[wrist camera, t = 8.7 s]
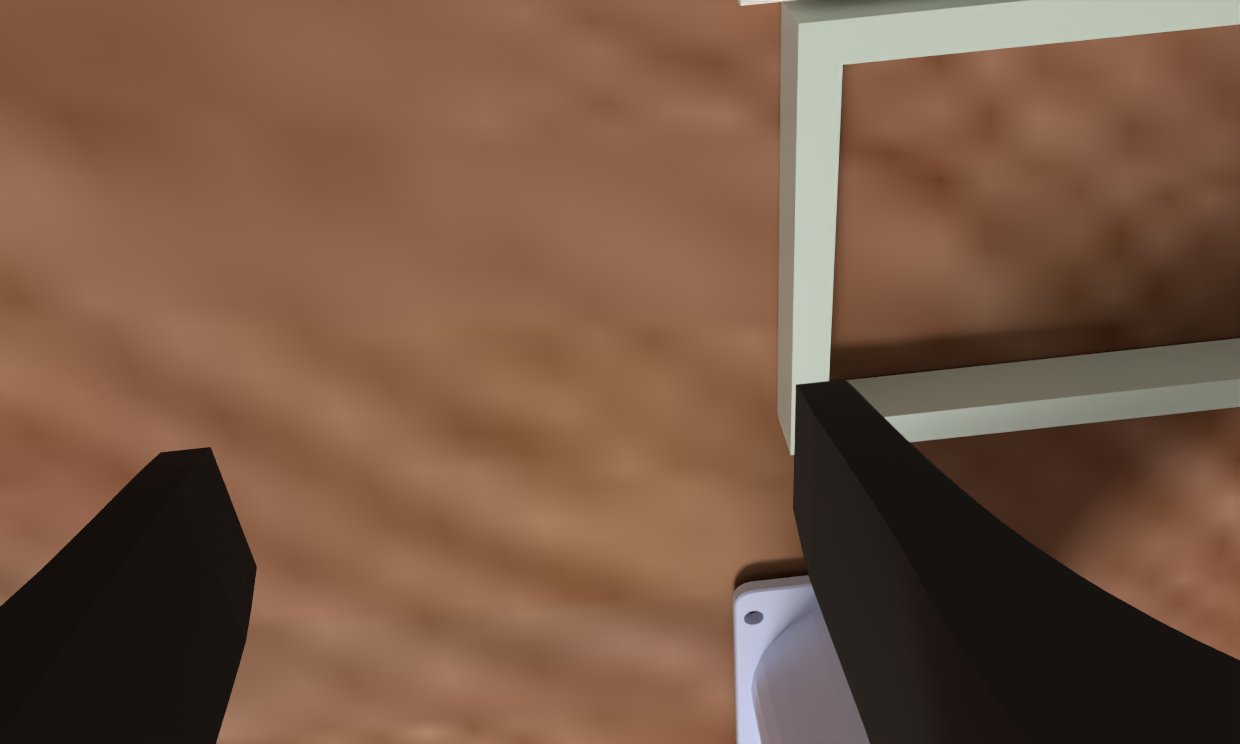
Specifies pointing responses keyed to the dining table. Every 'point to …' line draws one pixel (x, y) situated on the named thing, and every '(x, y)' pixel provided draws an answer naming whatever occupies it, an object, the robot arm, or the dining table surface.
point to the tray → (758, 1)
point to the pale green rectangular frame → (809, 156)
